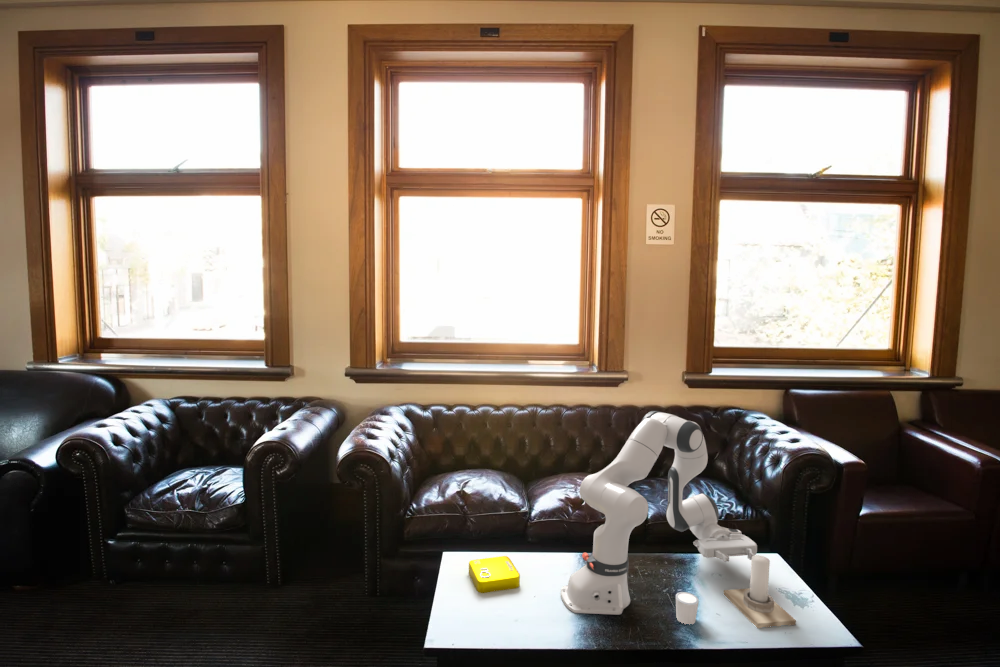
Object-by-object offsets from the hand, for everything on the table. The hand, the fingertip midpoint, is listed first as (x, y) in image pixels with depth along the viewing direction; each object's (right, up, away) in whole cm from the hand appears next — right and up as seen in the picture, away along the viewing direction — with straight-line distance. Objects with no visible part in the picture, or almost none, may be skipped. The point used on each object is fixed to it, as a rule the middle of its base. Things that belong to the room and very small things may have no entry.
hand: (740, 558), depth 186 cm
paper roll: (+1, -11, -10) cm, 15 cm away
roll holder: (+1, -12, -10) cm, 16 cm away
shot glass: (-24, -12, -16) cm, 31 cm away
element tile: (-83, -9, +4) cm, 84 cm away
